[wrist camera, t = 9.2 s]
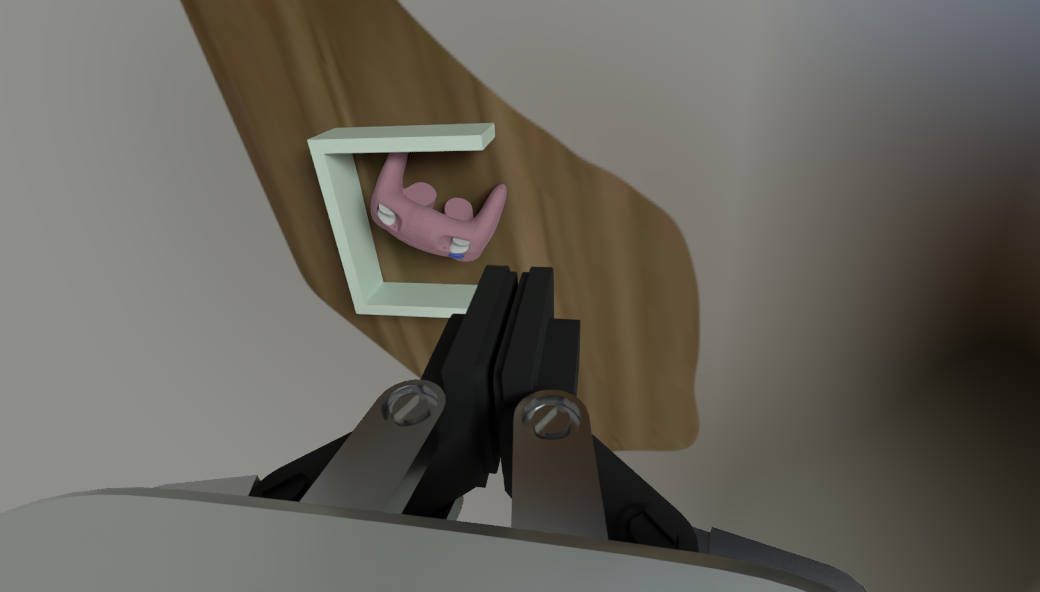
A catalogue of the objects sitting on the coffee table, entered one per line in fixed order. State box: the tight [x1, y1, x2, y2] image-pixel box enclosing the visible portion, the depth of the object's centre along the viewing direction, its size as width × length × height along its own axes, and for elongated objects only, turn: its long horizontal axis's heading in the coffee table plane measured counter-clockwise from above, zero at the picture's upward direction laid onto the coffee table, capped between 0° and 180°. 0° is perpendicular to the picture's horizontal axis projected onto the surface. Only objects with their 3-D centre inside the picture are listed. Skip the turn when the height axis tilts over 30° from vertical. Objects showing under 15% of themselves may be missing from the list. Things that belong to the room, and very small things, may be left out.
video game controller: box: [370, 152, 507, 262], centre depth 37 cm, size 10×5×7 cm, turn 69°
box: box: [307, 123, 495, 318], centre depth 39 cm, size 15×13×4 cm
